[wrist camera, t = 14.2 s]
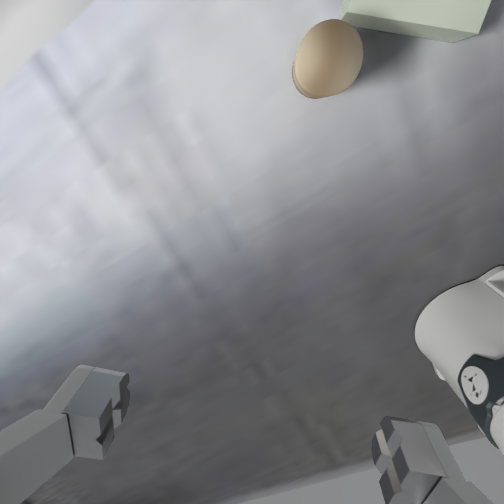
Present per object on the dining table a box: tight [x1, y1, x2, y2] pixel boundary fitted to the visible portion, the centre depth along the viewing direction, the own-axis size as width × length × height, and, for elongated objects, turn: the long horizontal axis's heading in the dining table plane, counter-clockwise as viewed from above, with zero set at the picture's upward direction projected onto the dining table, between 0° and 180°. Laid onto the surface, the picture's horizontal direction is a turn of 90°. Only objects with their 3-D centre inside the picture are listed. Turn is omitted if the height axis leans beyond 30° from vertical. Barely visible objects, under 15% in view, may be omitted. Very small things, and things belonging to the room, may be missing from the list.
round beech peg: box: [292, 19, 363, 99], centre depth 27 cm, size 5×5×8 cm
